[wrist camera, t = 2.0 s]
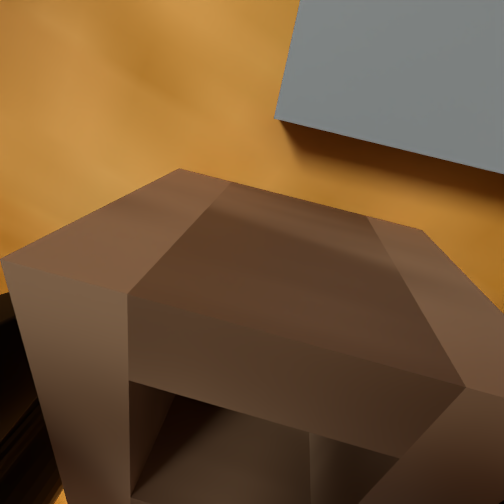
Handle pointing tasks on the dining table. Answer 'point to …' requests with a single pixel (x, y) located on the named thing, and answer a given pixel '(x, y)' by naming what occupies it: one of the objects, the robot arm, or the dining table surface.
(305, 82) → the grey peg base
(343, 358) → the hollow square sleeve
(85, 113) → the dining table surface
